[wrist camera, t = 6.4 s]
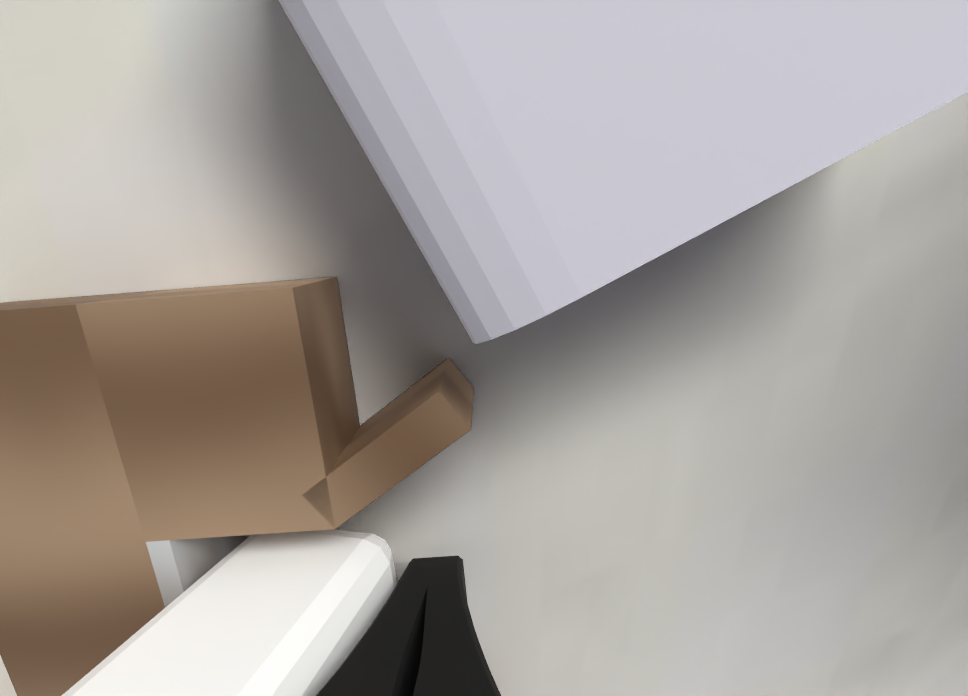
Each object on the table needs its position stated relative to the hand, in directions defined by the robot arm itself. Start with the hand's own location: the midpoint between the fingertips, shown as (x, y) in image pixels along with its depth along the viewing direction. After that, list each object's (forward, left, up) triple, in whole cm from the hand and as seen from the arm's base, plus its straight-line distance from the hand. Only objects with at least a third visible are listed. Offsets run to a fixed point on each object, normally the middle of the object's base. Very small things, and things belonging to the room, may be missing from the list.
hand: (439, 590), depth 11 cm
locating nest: (0, +4, -1) cm, 4 cm away
